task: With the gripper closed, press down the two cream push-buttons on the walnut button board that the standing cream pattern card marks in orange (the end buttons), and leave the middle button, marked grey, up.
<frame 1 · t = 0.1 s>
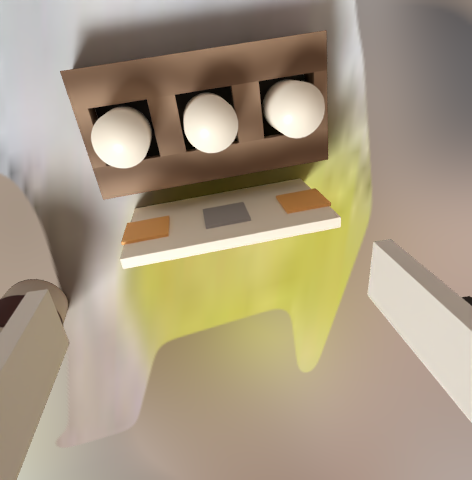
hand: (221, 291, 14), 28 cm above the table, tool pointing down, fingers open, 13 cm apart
coffee cup: (39, 300, 45), on the table
pattern card: (219, 197, 42), on the table
button board: (205, 114, 37), on the table
button 2: (209, 122, 33), point 5 cm above the table, slide at 0.0 cm
button 3: (292, 108, 33), point 5 cm above the table, slide at 0.0 cm
button 1: (123, 136, 32), point 5 cm above the table, slide at 0.0 cm
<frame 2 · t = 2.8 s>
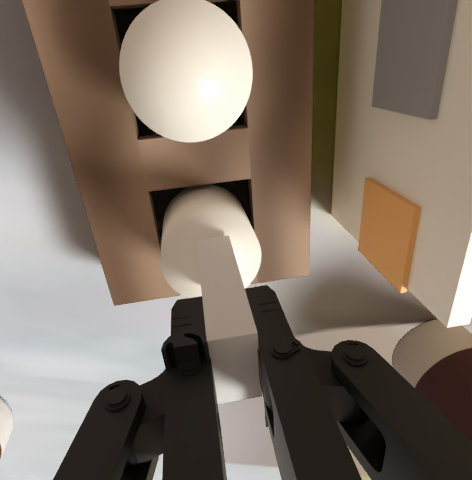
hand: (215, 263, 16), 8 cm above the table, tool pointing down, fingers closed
coffee cup: (424, 345, 33), on the table
pattern card: (347, 55, 20), on the table
button board: (183, 71, 19), on the table
button 2: (186, 73, 15), point 5 cm above the table, slide at 0.0 cm
button 1: (208, 240, 19), point 5 cm above the table, slide at 0.2 cm, touching gripper
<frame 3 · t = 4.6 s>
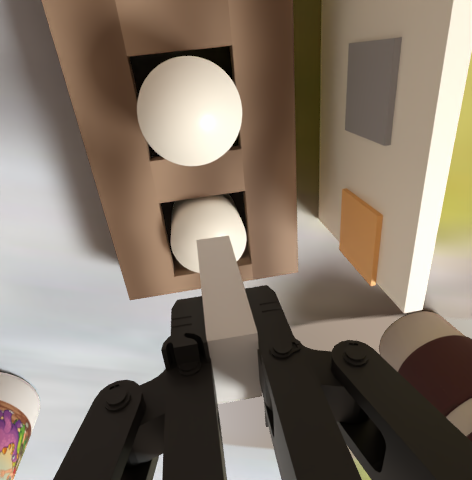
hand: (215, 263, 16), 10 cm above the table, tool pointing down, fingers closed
coffee cup: (409, 335, 36), on the table
pattern card: (327, 82, 24), on the table
button board: (186, 99, 23), on the table
button 2: (189, 109, 18), point 5 cm above the table, slide at 0.0 cm
button 1: (206, 227, 24), point 3 cm above the table, slide at 2.7 cm
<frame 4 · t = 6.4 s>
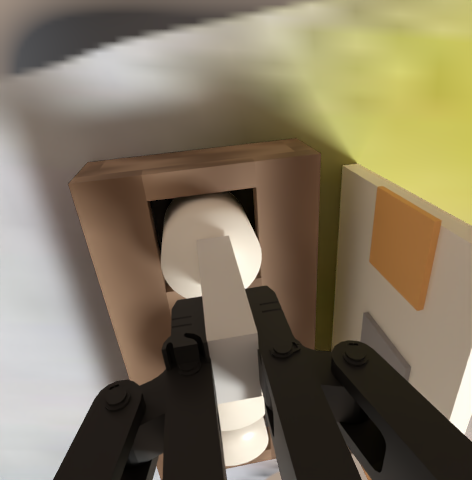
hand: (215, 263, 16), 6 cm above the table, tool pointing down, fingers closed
pattern card: (341, 294, 27), on the table
button board: (216, 314, 26), on the table
button 2: (226, 371, 21), point 5 cm above the table, slide at 0.0 cm
button 3: (208, 241, 19), point 4 cm above the table, slide at 1.5 cm, touching gripper
button 1: (231, 418, 27), point 3 cm above the table, slide at 2.7 cm
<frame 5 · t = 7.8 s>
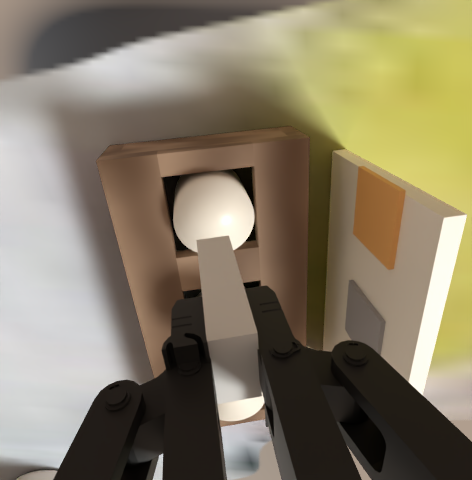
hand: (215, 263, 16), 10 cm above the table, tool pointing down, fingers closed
pattern card: (332, 269, 29), on the table
button board: (220, 285, 29), on the table
button 2: (227, 329, 24), point 5 cm above the table, slide at 0.0 cm
button 3: (211, 206, 23), point 3 cm above the table, slide at 2.7 cm
button 1: (232, 379, 30), point 3 cm above the table, slide at 2.7 cm
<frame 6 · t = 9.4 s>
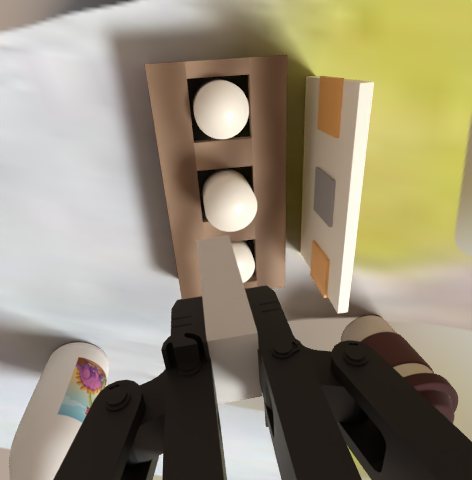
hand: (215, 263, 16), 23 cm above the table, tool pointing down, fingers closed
coffee cup: (362, 332, 52), on the table
milk bottle: (81, 360, 47), on the table
pattern card: (307, 174, 39), on the table
button board: (223, 182, 38), on the table
button 2: (228, 199, 34), point 5 cm above the table, slide at 0.0 cm
button 3: (219, 108, 32), point 3 cm above the table, slide at 2.7 cm
button 1: (230, 257, 40), point 3 cm above the table, slide at 2.7 cm
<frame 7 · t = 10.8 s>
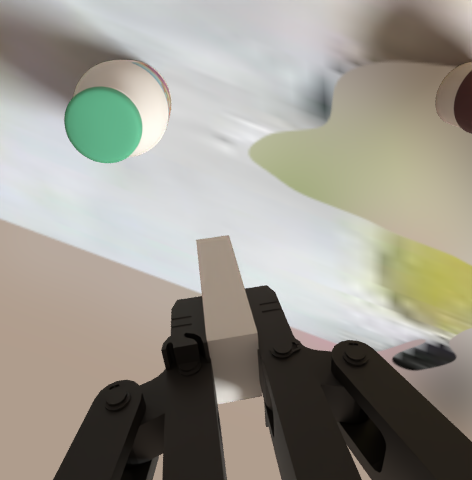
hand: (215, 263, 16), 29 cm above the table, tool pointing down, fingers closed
coffee cup: (459, 94, 45), on the table
milk bottle: (136, 98, 39), on the table
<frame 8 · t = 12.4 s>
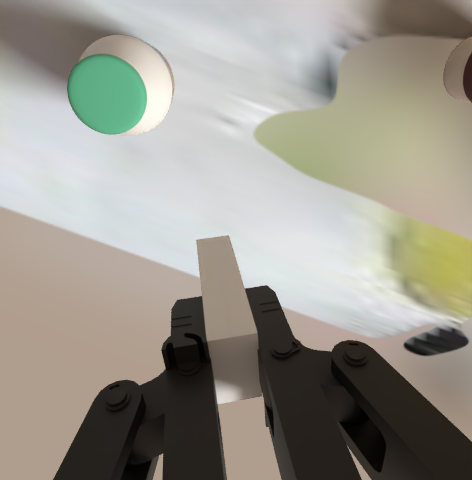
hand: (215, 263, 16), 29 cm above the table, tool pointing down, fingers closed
coffee cup: (467, 68, 44), on the table
milk bottle: (139, 81, 39), on the table
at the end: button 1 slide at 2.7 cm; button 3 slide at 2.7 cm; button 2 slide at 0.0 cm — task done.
